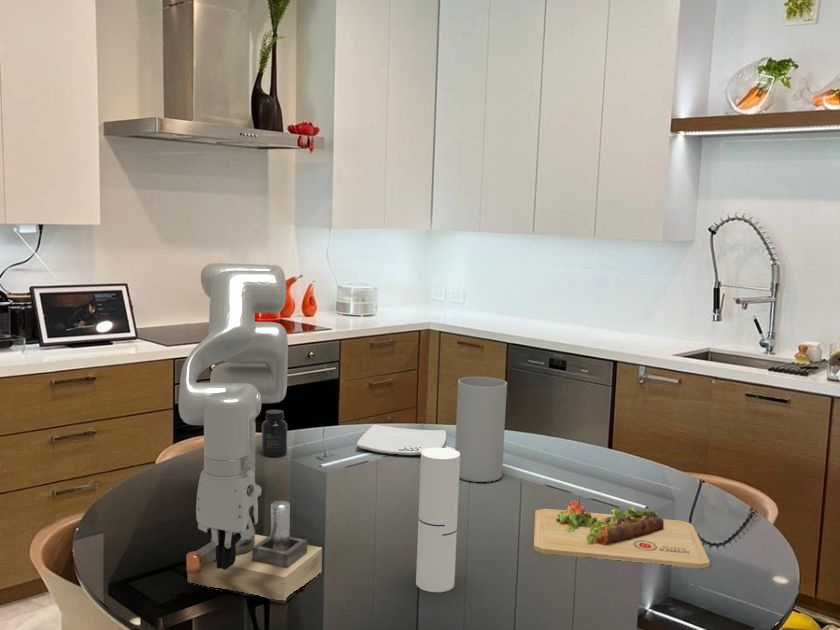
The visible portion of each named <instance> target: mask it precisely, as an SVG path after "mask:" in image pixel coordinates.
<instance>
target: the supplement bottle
mask: <svg viewBox="0 0 840 630" xmlns="http://www.w3.org/2000/svg"><path fill="white" fill-rule="evenodd" d="M284 418H285V412H284V410H281V409H269V410H266V411H265V419H266V420H264V421H263V422H262V424H261V454H262V456H263V457H266V458H272V459H273V458H282V457H284V456H286V455H287V454H288V423H287V421H285V420H284Z"/></svg>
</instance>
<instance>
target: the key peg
mask: <svg viewBox="0 0 840 630" xmlns="http://www.w3.org/2000/svg"><path fill="white" fill-rule="evenodd" d="M290 516H291V504H290V502H289V501H286V500H276V501H272V502H271V503H270V535H271V549H275V550H280V551H285V552H286V551H287V550H289V549H290V537H291V529H290V528H291V527H290V526H291V523H290V522H291V517H290Z"/></svg>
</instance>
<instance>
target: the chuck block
mask: <svg viewBox="0 0 840 630" xmlns="http://www.w3.org/2000/svg"><path fill="white" fill-rule="evenodd" d="M322 564H323V547H321V546H315V545H311V544H308V539H304V538H303V539H302V538H297V537H294V536H290V549H289V550H287V551H286V552H285V551H280V550H275V549H271V534H270V535H269V536H265V535H260V534H256V533H255V546H254V547H253V548H252V550H250V551H248V552H245V553H241V554H236V559H235V562H234V564H233V565H232V566H230V567H229V568H227V569H226V570H224V569H222V568H220V569H219V568H217V561H216V559H215V560H214V561H212V562H211V563H209V564H208V565H206V566H205V567H203V568H202V572H200V573H198V574H189V573H187V583H188V582H190V583H189V584H191V583H195V584H194V585H196V584H198V585H197V586H200V585H202V586H201V587H204V586H207V587H206V588H209V587H213V588H214V587H215V588H222V589H229V590H233V591H239V592H244V593H248V594H254V595H259V596H261V597H265V598H268V599H275V600H284V601H285V600H286V598H287V597H288V596H289V595H290V594H292V593H293V592H294V591H296V590H298V589H299V588H300V587H302V586H304V585H305V584H306V583H308V582H309V581H310V580H312V579H313V578H314V577H316V576H317V575H318V574H319V573H321V572H322V570H323V567H322V566H323V565H322ZM322 573H323V572H322ZM322 573H321V574H322ZM317 577H318V576H317ZM317 577H316V578H317ZM213 588H212V589H213Z"/></svg>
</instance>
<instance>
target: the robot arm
mask: <svg viewBox="0 0 840 630" xmlns="http://www.w3.org/2000/svg"><path fill="white" fill-rule="evenodd" d="M200 283H201V287H202V290H203V292H204V293H205V295H206V296H207V297H208V298H209V316H208V335H207V336H206V337H205V338H204V339H202V340H201V341H200V342H199V343H198V344H197V345H196V346H195V347H194V348H193V349H192V350H191V351H190V353H189V354H188V356H187V357H186V359H185V361H184V363H183V365H182V368H181V373H180V378H179V379H180V381H179V382H180V383H179V392H178V413H179V417H180V419H182V422H184V423H186V424H188V425H192V426H203V469H202V470H201V472H200V475H199V481H198V484H197V492H196V502H195V503H196V504H195V506H196V507H195V513H196V514H195V515H196V516H195V517H196V522H197V528H198V530H200V531H202V532H204V533H207V535H208V536H209V537H210V539H211V538H212V541H213V545H215V546H216V561H217V568H219V569H220V568H222V569H224V570H226V569H227V568H229V567H230V566H232V565H233V564H234V562H235V559H236V543H237V542H239V540H241V539H242V540H244V539H250V538H252V537H253V536H254V529H253V527H254V526H256V525H257V524H258V521H259V503H258V498H260V497H261V495H262V487H261V486H260V485H258V484H257V483H256V430H257V429H256V427H257V426H256V424H257V423H256V418H257V417H258V416H259V415H260V412H261V409H262V404H276V403H281V401H283V400H284V399H285V398H286V394H287V388H288V367H289V366H288V363H289V362H288V359H289V357H288V356H289V340H288V333H287V331H286V328H285V326H283V325H282V324H281V323H278V322H274V321H257V320H256V321H255V317H256V314H257V313H258V314H277V313H281V312H282V311H283V310H284V307H285V305H286V301H287V283H286V276H285V272H284V270H283V269H282V267H281V266H279V265H276V264H260V263H259V264H253V263H250V264H247V263H228V262H226V263H225V262H224V263H222V262H216V263H215V262H214V263H209V264H207V265H205V266H203V267H202V270H201V272H200ZM220 362H224V363H220ZM218 363H220V364H218ZM215 364H217V365H216V366H215V367H214V368H213V369H212V370H211V372H210V381H209V382H197V381H198V378H199V376H200V375H201V374H202V373H203V372H204V371H206V369H208V368H210V367H211V366H214V365H215Z"/></svg>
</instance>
